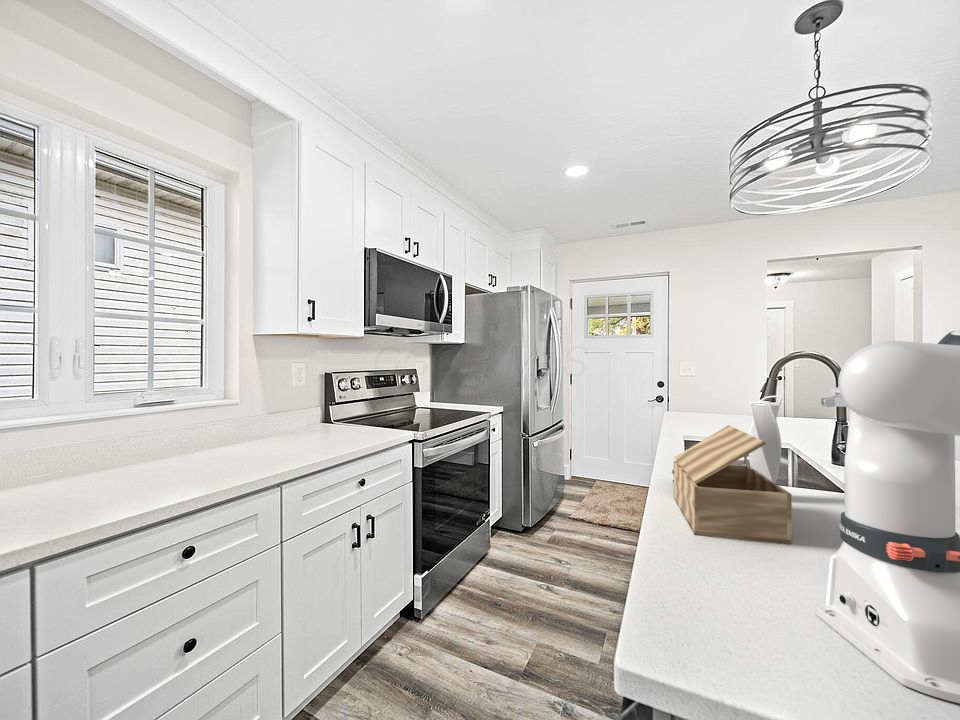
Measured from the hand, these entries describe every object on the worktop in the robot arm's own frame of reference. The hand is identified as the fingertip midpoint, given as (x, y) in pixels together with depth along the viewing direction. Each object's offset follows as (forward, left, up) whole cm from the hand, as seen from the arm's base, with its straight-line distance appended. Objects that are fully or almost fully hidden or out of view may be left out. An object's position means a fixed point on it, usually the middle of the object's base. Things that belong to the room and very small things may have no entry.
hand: (822, 402), depth 97 cm
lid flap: (0, +22, -12) cm, 25 cm away
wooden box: (0, +20, -28) cm, 34 cm away
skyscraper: (+21, +5, -28) cm, 36 cm away
